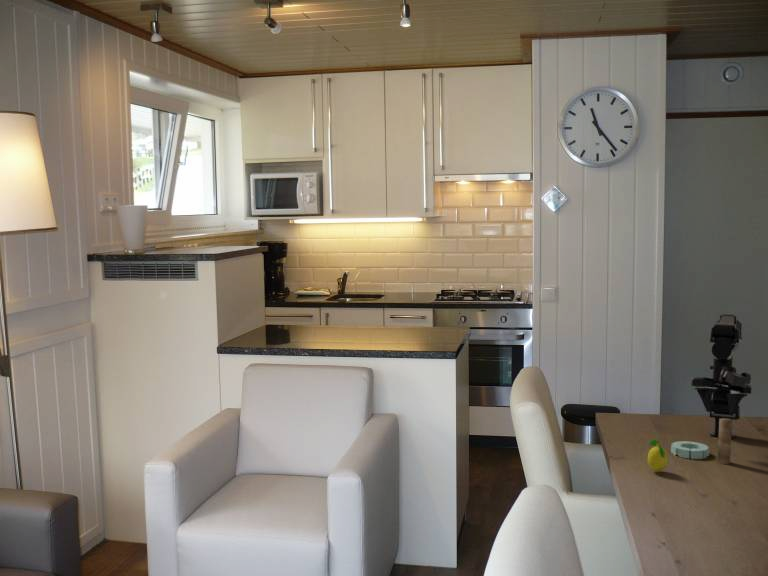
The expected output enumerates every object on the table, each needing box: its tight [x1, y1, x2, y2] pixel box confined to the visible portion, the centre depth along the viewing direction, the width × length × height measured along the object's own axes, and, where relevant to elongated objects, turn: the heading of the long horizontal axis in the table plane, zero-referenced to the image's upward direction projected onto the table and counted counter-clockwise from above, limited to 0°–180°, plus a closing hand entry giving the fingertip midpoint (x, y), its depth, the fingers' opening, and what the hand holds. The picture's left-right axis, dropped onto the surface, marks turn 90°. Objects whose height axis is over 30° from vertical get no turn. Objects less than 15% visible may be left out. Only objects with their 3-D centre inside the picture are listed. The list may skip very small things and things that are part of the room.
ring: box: [670, 440, 710, 460], centre depth 255 cm, size 10×10×2 cm
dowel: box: [717, 418, 732, 465], centre depth 246 cm, size 3×3×13 cm
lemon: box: [647, 438, 669, 473], centre depth 237 cm, size 7×6×10 cm
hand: (720, 413), depth 257 cm, fingers open, 9 cm apart
